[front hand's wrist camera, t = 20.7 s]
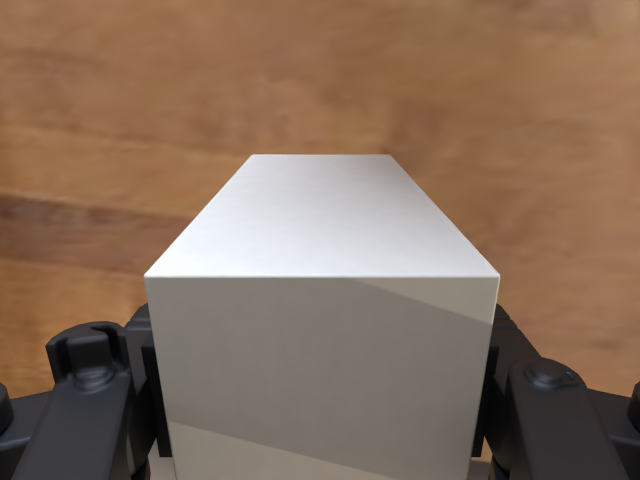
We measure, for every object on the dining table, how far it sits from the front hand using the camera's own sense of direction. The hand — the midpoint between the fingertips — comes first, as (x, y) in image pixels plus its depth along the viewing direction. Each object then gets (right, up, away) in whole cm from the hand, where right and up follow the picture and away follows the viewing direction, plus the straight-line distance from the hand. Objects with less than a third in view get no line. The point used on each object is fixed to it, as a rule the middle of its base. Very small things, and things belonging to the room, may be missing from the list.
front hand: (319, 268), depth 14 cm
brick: (0, +1, +3) cm, 3 cm away
